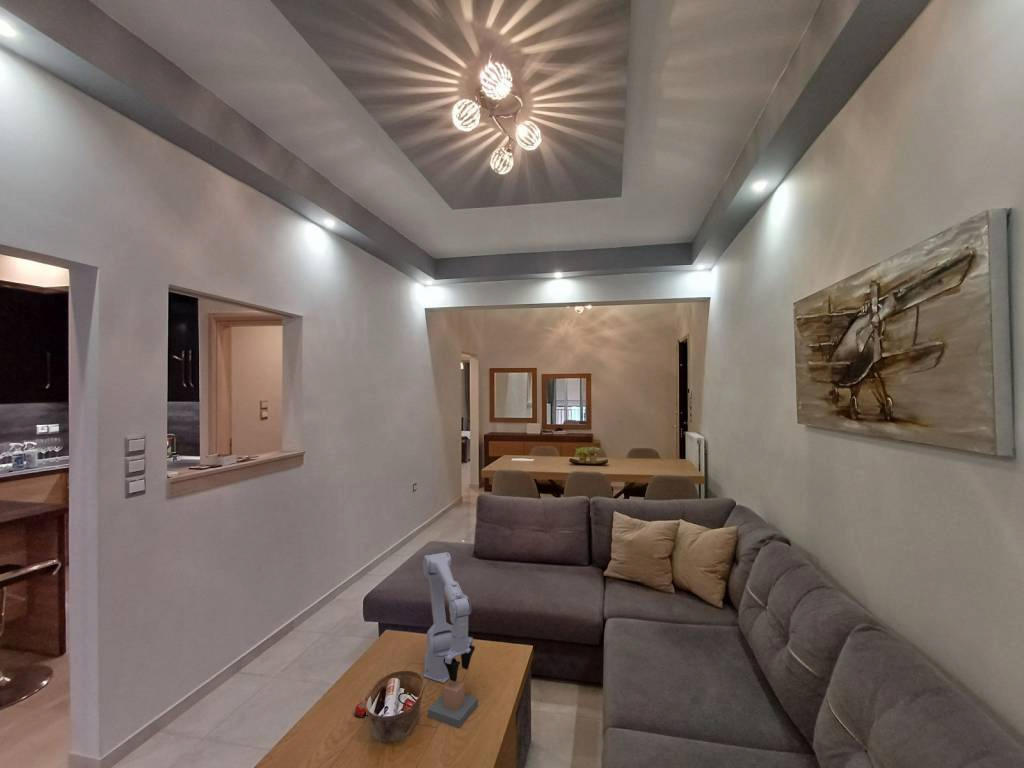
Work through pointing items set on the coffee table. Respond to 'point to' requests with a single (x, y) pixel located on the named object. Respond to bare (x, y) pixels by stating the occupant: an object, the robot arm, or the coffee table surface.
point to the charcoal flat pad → (452, 711)
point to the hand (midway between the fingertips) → (459, 674)
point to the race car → (361, 709)
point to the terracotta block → (454, 694)
